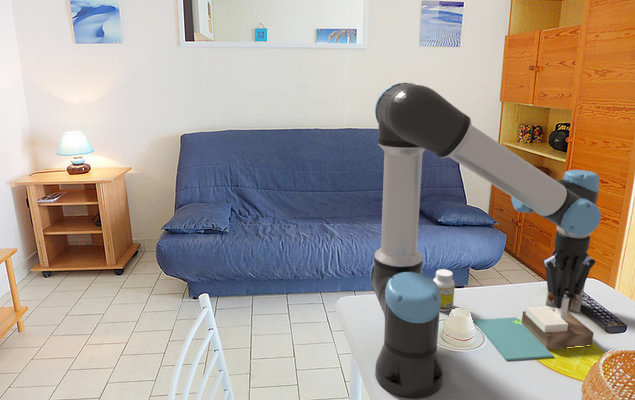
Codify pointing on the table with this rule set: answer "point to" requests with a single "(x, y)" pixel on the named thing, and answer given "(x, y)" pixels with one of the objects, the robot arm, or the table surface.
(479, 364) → the table surface
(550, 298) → the coffee box
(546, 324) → the cream flat block
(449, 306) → the pill bottle
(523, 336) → the mat
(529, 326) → the wooden block
